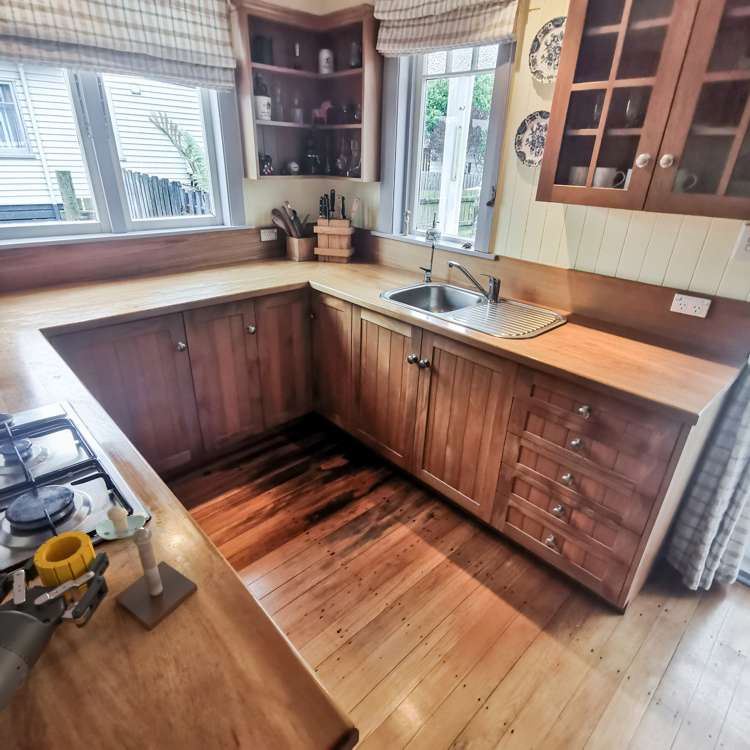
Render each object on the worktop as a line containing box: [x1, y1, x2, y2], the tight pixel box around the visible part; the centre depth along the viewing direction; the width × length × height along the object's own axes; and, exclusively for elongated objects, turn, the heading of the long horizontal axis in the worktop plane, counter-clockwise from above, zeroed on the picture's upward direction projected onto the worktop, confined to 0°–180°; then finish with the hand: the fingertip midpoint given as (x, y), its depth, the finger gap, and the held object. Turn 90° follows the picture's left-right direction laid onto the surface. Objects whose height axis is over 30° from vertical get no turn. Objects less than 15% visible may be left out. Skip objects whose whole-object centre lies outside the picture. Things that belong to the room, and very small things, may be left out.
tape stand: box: [114, 526, 199, 632], centre depth 65 cm, size 8×8×13 cm
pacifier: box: [95, 506, 146, 541], centre depth 78 cm, size 7×6×6 cm
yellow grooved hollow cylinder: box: [33, 530, 97, 610], centre depth 66 cm, size 7×7×9 cm
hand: (75, 554), depth 67 cm, fingers open, 8 cm apart
